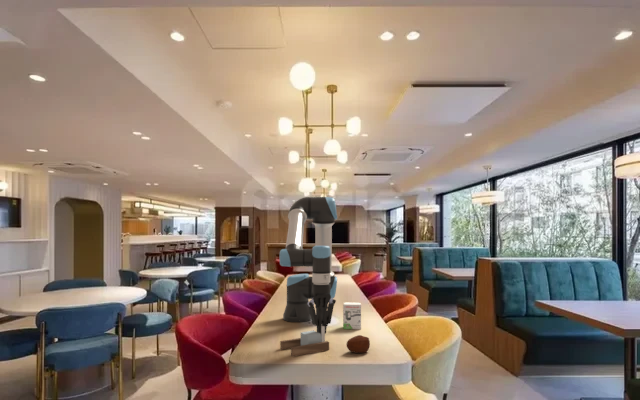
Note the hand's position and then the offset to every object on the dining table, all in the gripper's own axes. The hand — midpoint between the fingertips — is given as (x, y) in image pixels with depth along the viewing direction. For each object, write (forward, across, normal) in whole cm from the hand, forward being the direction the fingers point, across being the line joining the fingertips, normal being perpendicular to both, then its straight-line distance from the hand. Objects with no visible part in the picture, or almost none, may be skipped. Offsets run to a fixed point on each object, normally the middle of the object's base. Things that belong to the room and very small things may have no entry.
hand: (321, 342), depth 161 cm
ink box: (+2, +28, +18) cm, 34 cm away
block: (+2, -5, 0) cm, 5 cm away
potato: (+2, +8, -14) cm, 16 cm away
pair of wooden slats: (+2, -8, 0) cm, 8 cm away
